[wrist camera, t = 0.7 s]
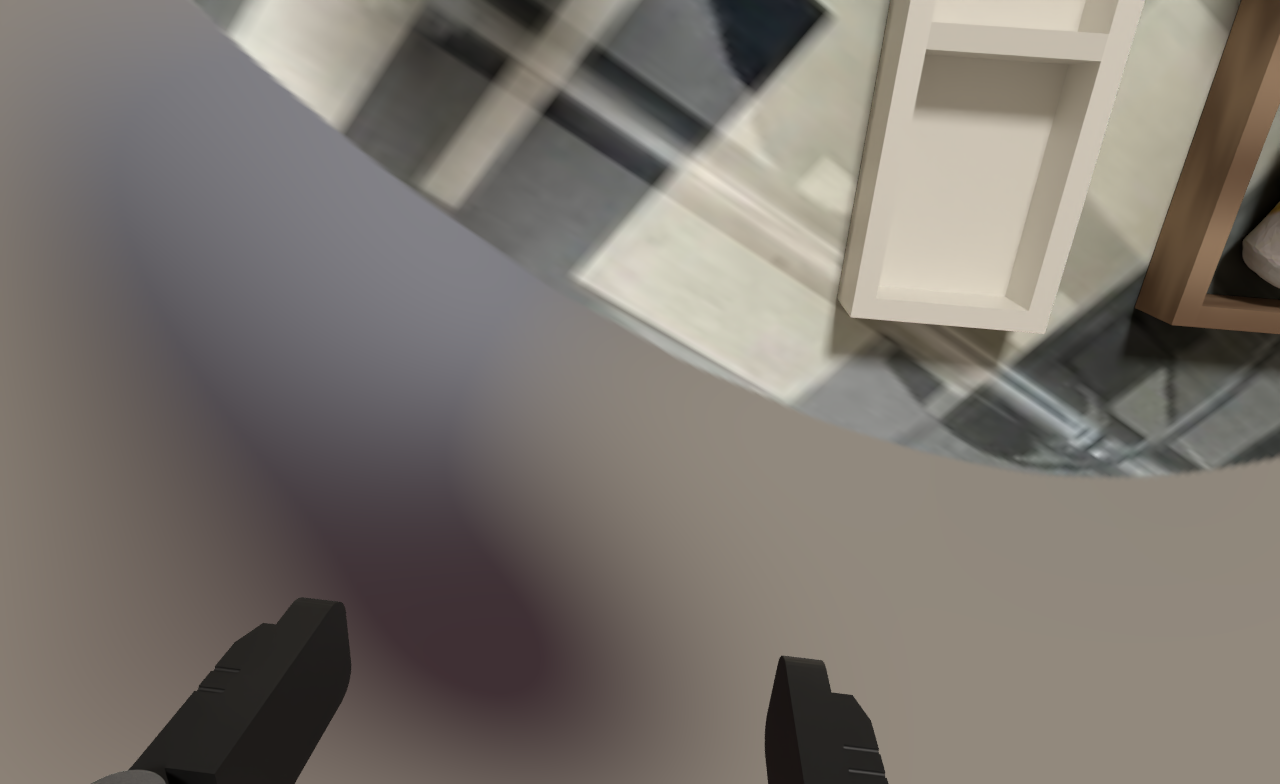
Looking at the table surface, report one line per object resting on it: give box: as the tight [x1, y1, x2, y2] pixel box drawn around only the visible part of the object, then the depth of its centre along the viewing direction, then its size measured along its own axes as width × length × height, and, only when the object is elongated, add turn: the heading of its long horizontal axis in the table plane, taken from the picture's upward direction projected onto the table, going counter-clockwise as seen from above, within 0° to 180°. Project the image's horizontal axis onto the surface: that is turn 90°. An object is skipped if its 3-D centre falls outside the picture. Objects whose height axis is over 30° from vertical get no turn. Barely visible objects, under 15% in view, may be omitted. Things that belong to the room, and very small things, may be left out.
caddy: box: [837, 0, 1145, 334], centre depth 30 cm, size 24×9×4 cm, turn 176°
